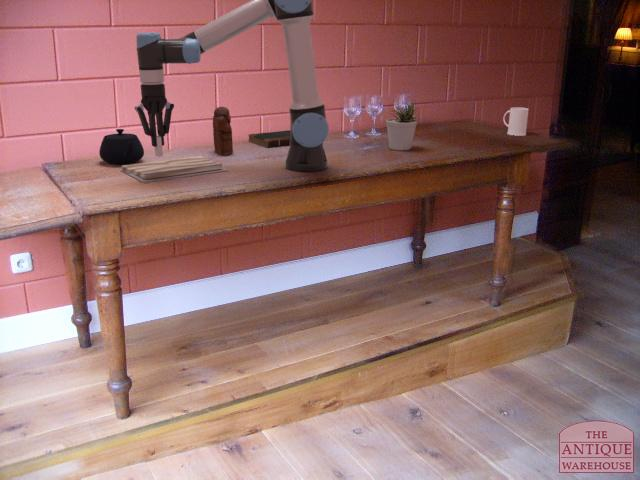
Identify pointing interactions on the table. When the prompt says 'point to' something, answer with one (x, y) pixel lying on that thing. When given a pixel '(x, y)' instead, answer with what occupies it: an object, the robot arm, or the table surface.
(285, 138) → the book
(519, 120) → the mug
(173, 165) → the plank
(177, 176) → the tray
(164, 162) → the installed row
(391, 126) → the potted plant
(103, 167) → the table surface
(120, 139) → the teapot
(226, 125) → the wooden figurine
